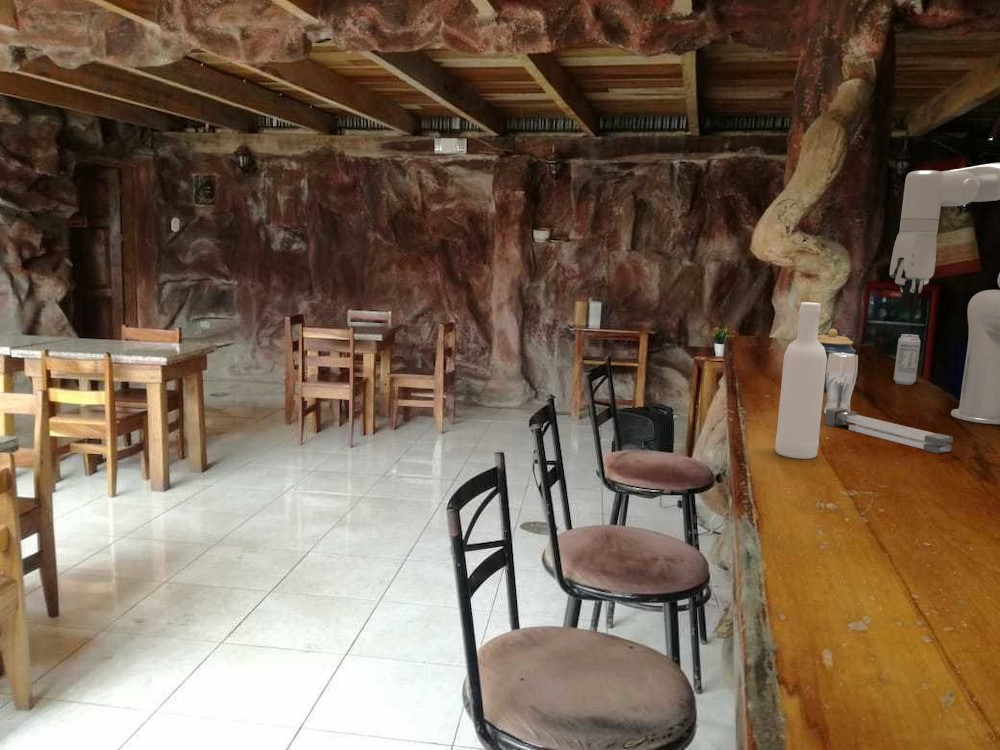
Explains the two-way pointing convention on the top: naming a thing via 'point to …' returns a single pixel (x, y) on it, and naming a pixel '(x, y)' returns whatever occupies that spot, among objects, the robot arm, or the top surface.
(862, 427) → the tongs base
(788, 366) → the bottle
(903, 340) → the energy drink can
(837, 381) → the beer glass
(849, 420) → the upper jaw
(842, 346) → the canister
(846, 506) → the top surface
